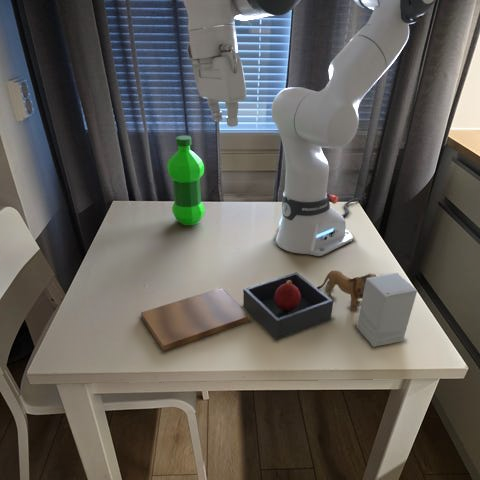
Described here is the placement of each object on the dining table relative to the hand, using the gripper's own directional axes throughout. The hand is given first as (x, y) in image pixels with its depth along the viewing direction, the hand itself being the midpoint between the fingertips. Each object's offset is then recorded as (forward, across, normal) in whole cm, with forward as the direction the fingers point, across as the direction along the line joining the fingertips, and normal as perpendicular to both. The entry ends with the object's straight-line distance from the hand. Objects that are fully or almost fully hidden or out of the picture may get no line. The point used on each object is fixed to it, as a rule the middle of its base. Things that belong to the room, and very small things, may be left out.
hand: (224, 123), depth 93 cm
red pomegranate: (+39, -16, -3) cm, 42 cm away
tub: (+39, -16, -3) cm, 42 cm away
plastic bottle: (+32, +37, +4) cm, 49 cm away
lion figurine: (+41, -16, -18) cm, 48 cm away
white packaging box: (+42, -29, -18) cm, 55 cm away
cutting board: (+36, -11, +17) cm, 42 cm away
